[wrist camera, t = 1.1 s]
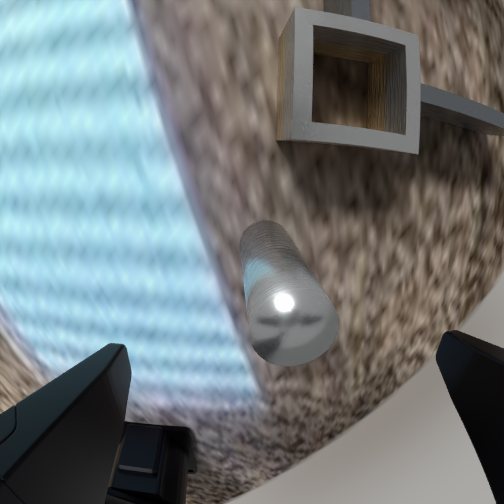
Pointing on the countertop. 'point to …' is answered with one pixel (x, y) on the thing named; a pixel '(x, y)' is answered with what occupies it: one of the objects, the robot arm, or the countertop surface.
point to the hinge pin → (284, 298)
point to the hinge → (379, 82)
